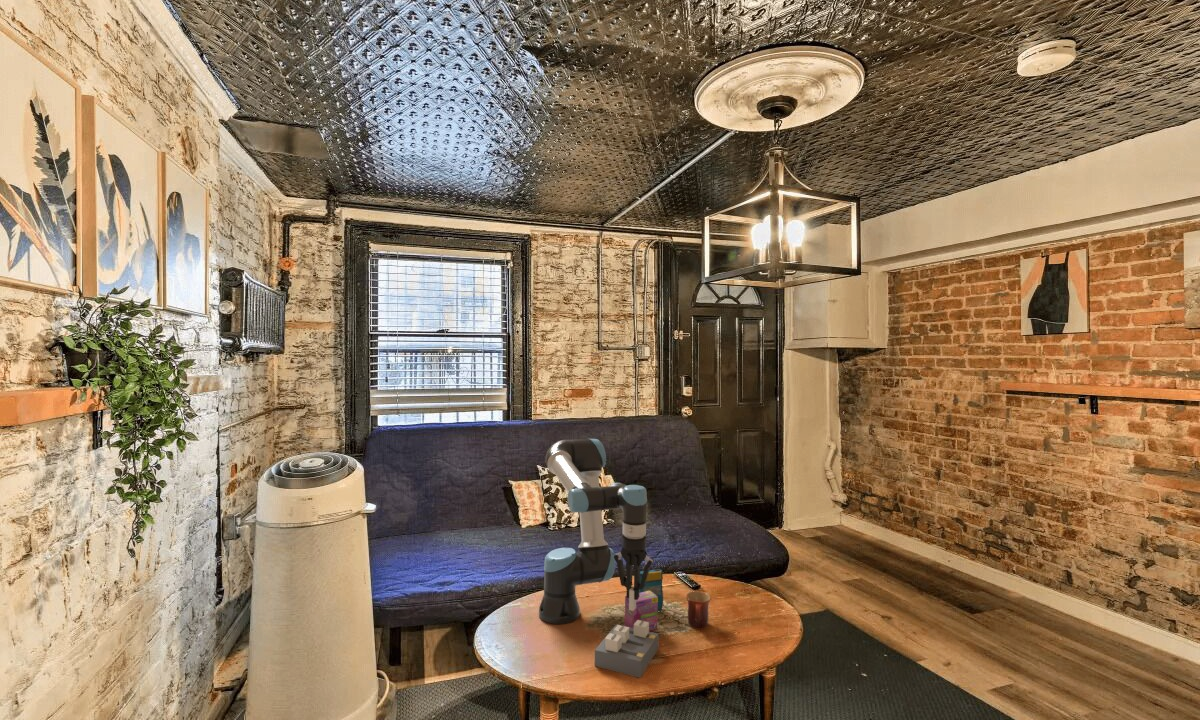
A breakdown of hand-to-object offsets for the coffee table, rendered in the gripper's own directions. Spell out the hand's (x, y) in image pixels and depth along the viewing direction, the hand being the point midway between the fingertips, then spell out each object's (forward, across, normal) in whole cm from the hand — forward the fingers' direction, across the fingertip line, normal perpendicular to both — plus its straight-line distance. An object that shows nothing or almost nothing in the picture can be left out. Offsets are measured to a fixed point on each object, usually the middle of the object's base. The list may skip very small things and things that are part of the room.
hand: (632, 608), depth 175 cm
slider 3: (+11, +1, +6) cm, 13 cm away
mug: (+17, +15, +29) cm, 37 cm away
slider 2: (+11, -4, 0) cm, 12 cm away
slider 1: (+11, -4, -6) cm, 13 cm away
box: (+17, -3, +19) cm, 26 cm away
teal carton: (+17, -4, +33) cm, 37 cm away
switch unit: (+16, -2, 0) cm, 16 cm away
